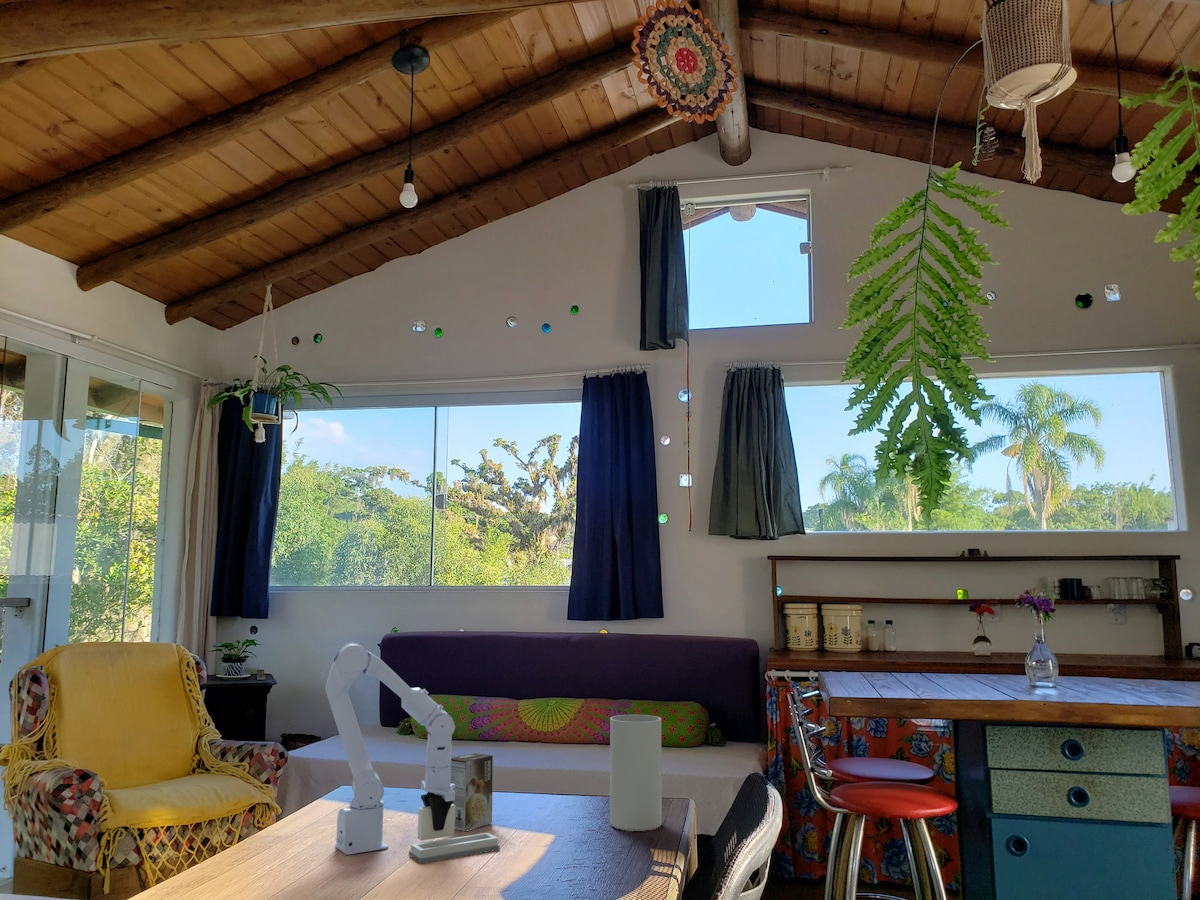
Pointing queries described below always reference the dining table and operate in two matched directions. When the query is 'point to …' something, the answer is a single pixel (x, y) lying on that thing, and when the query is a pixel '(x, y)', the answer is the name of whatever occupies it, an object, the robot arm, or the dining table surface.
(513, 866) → the dining table surface
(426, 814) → the door panel
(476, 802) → the coffee box
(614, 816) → the cylinder vase
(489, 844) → the track base
